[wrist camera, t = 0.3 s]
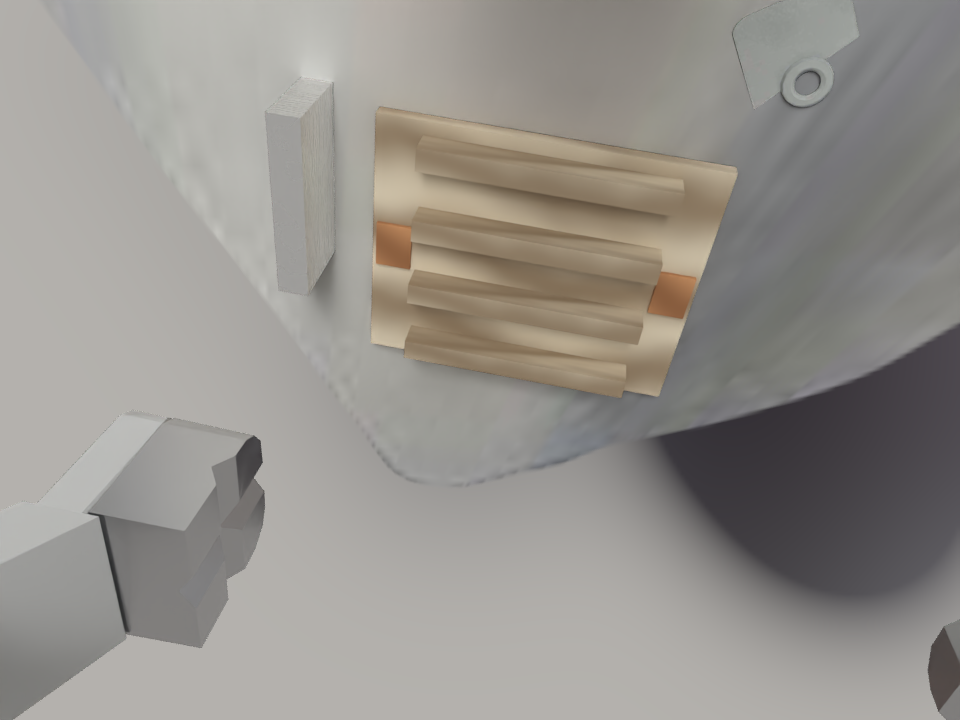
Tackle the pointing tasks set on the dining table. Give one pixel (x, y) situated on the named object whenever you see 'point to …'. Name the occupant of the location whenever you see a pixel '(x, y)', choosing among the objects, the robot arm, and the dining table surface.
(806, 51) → the mounting bracket
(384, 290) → the rack
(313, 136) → the blanking panel
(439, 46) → the dining table surface
